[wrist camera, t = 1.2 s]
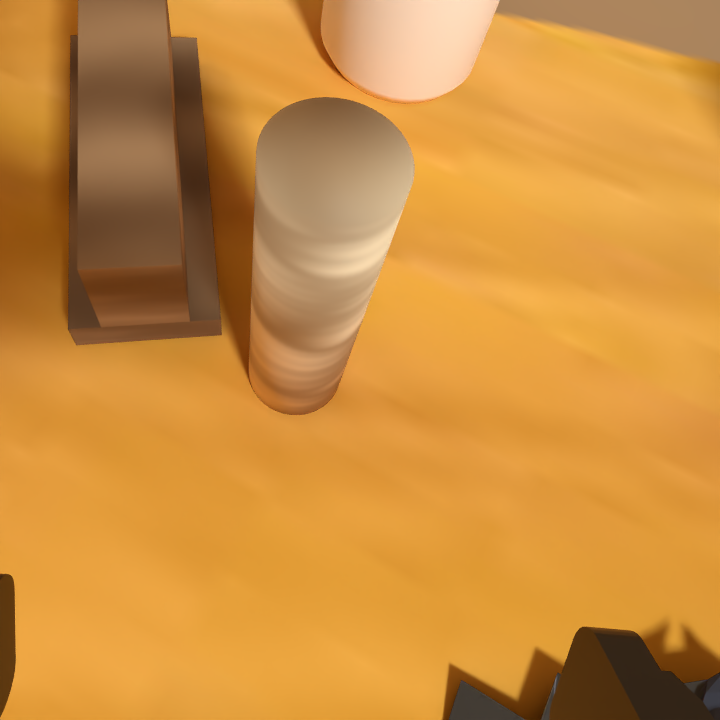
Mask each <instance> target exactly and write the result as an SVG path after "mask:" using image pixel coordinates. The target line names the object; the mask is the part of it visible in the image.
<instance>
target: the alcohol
mask: <svg viewBox="0 0 720 720" xmlns="http://www.w3.org/2000/svg"><path fill="white" fill-rule="evenodd" d="M499 1H500V0H324V2H323V10H322V18H321V36H322V40H323V44H324V47H325V48H326V50H327V52H328V54H329V56H330V58H331V60H332V61H333V63H334V65H335V66H336V68H337V69H338V70H339V72H340V73H341V74H342V75H343V77H344V78H345V79H347V80H348V81H349V82H350V83H351V84H352V85H353V86H355V87H356V88H358V89H360V90H361V91H363V92H365V93H366V94H369V95H371V96H373V97H376V98H378V99H382V100H386V101H389V102H395V103H404V104H410V103H422V102H426V101H431V100H433V99H435V98H438V97H440V96H442V95H444V94H446V93H448V92H449V91H451V90H453V89H454V88H456V87H457V86H458V85H460V84H461V83H463V81H464V80H465V79H466V78H467V77H468V75H469V74H470V73H471V70H472V68H473V66H474V64H475V61H476V59H477V56H478V54H479V51H480V49H481V46H482V44H483V41H484V39H485V36H486V34H487V31H488V28H489V26H490V23H491V21H492V18H493V16H494V13H495V11H496V8H497V6H498V3H499Z"/></svg>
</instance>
